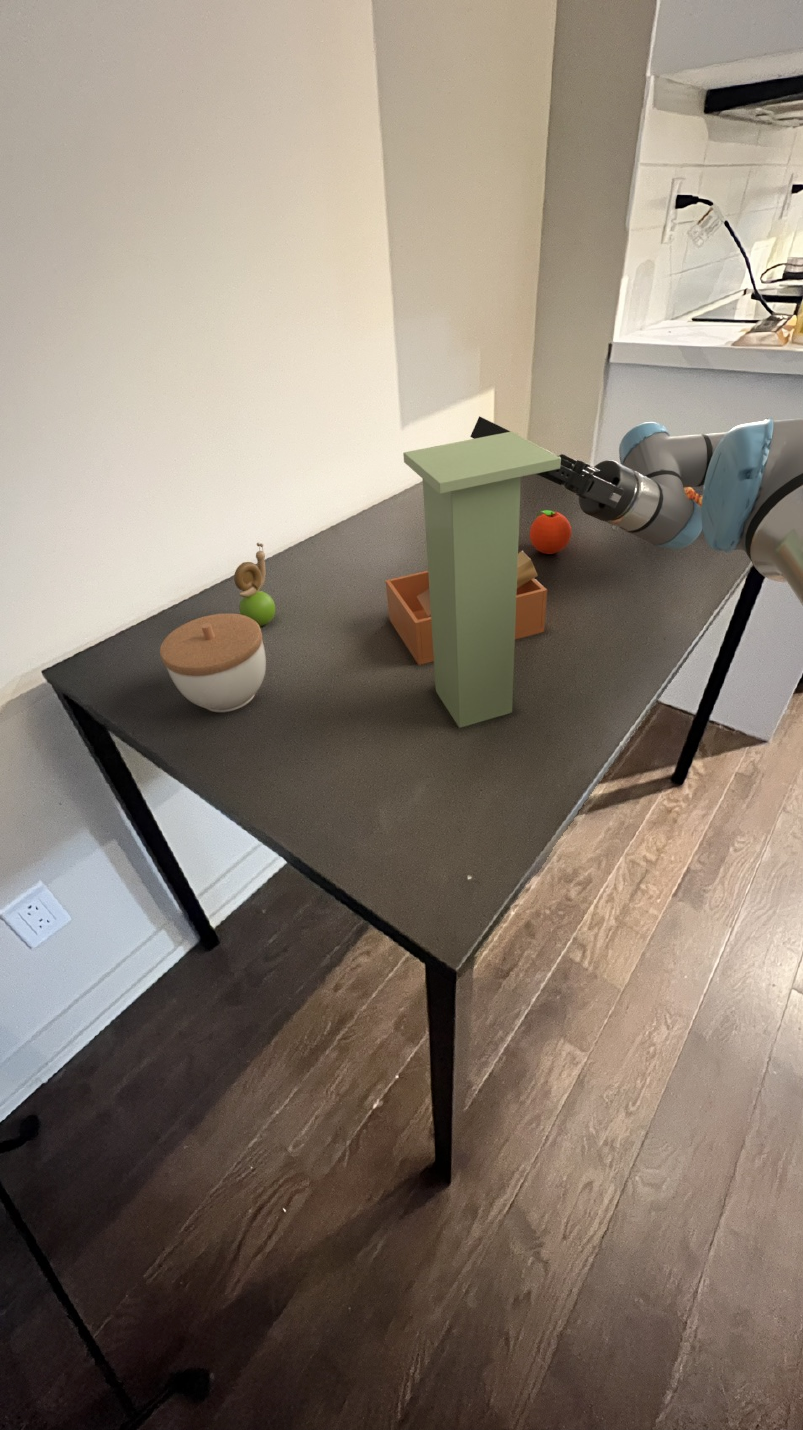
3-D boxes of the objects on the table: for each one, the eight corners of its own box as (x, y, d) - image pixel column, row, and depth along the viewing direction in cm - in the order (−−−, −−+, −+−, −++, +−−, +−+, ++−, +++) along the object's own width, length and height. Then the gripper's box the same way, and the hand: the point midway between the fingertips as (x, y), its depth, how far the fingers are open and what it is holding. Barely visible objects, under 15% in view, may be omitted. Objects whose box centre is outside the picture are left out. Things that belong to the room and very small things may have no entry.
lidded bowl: (284, 708, 81) (265, 636, 74) (186, 737, 78) (156, 665, 71) (266, 659, 90) (247, 591, 83) (178, 683, 87) (151, 614, 80)
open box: (503, 591, 99) (504, 552, 95) (544, 632, 89) (547, 589, 85) (389, 620, 96) (385, 580, 91) (418, 665, 86) (415, 622, 81)
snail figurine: (290, 616, 99) (273, 545, 91) (260, 636, 95) (241, 563, 88) (266, 608, 102) (248, 539, 94) (237, 627, 98) (216, 556, 90)
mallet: (525, 562, 91) (513, 535, 87) (542, 580, 86) (530, 552, 83) (431, 621, 93) (416, 596, 90) (443, 641, 88) (427, 616, 85)
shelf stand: (505, 667, 84) (512, 431, 65) (542, 710, 76) (561, 457, 57) (422, 690, 81) (403, 452, 62) (450, 736, 74) (439, 482, 55)
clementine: (517, 547, 111) (519, 508, 106) (550, 537, 113) (553, 499, 108) (543, 564, 105) (546, 524, 101) (577, 554, 107) (582, 513, 103)
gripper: (656, 554, 80) (531, 501, 70) (557, 493, 99) (447, 444, 88) (692, 498, 77) (566, 433, 66) (582, 446, 95) (471, 389, 85)
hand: (498, 439), depth 77 cm, fingers open, 13 cm apart
